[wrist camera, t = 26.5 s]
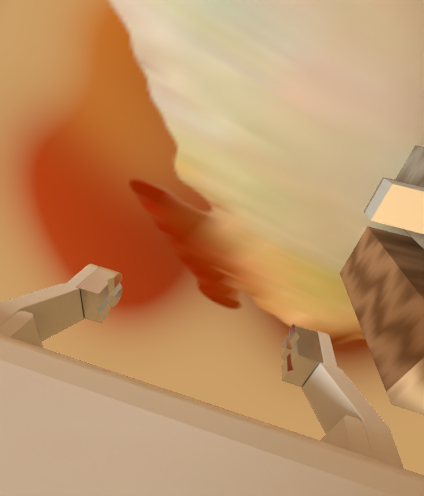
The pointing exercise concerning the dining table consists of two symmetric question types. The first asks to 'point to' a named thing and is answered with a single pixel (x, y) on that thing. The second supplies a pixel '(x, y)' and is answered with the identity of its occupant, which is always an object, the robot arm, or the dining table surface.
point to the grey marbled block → (414, 180)
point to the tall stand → (391, 310)
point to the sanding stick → (398, 205)
